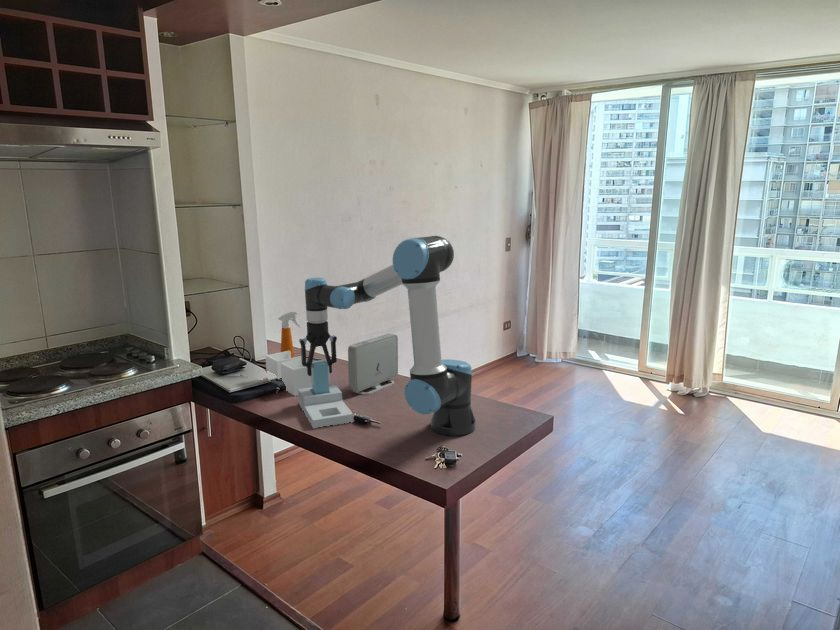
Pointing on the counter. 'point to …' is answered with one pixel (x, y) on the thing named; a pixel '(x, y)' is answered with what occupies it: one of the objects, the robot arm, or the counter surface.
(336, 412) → the panel
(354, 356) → the network device
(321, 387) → the plug
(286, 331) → the spray bottle
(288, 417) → the counter surface
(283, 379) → the storage container
